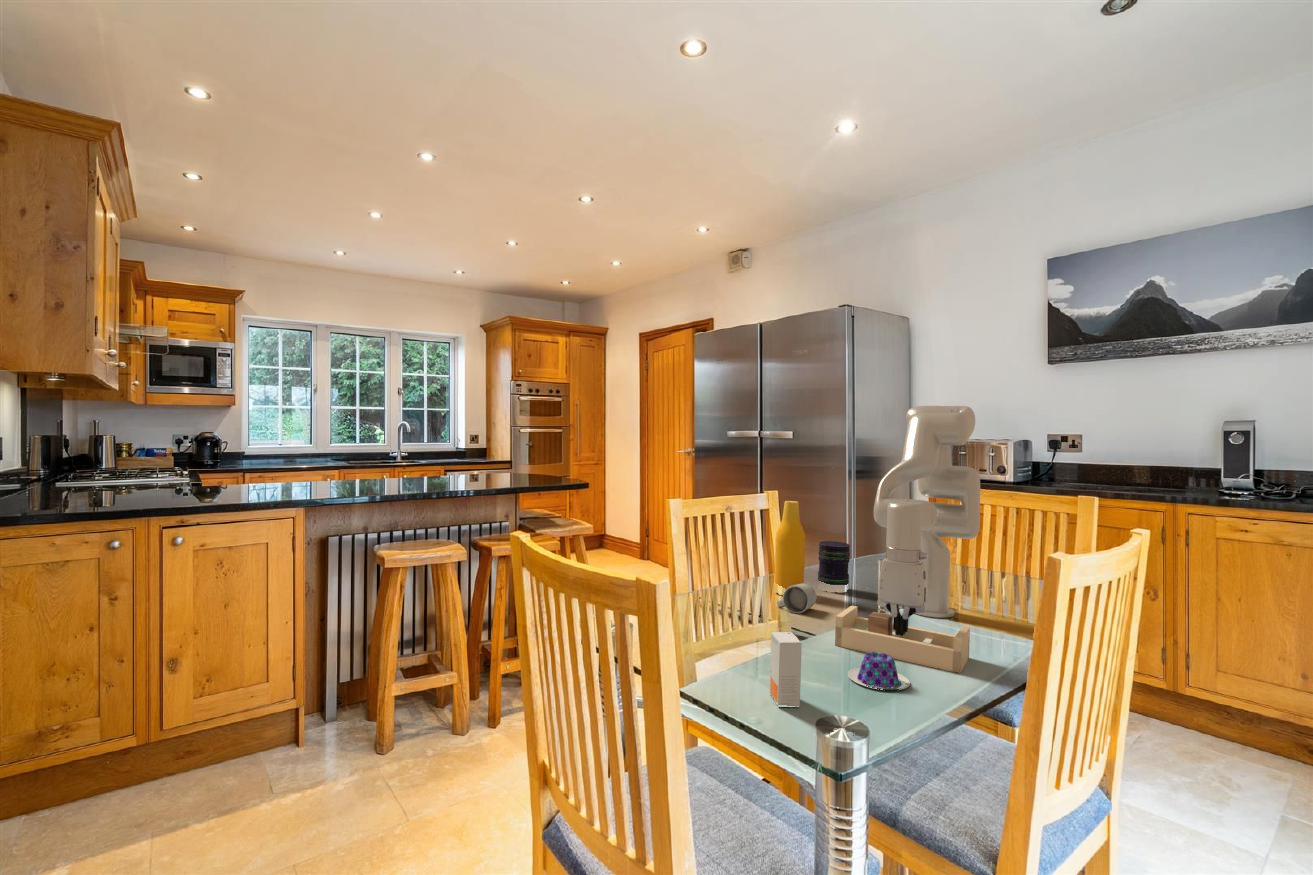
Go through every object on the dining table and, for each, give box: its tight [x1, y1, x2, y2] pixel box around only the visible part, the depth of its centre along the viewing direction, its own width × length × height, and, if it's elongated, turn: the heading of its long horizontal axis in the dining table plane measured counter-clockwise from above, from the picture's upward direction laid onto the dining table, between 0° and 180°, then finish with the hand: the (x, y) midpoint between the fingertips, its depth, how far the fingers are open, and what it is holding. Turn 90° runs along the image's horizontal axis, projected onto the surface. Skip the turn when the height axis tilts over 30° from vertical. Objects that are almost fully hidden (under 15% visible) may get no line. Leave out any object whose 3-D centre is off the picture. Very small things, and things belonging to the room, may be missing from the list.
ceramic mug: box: [776, 583, 817, 614], centre depth 177 cm, size 11×8×8 cm
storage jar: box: [817, 540, 851, 585], centre depth 202 cm, size 10×10×15 cm
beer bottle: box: [773, 500, 806, 589], centre depth 195 cm, size 9×9×29 cm
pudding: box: [847, 652, 911, 691], centre depth 126 cm, size 12×12×5 cm
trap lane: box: [834, 605, 971, 674], centre depth 144 cm, size 12×27×7 cm, turn 55°
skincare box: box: [769, 631, 803, 707], centre depth 115 cm, size 6×4×12 cm
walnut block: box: [867, 611, 893, 636], centre depth 146 cm, size 4×4×4 cm
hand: (900, 633), depth 144 cm, fingers closed
